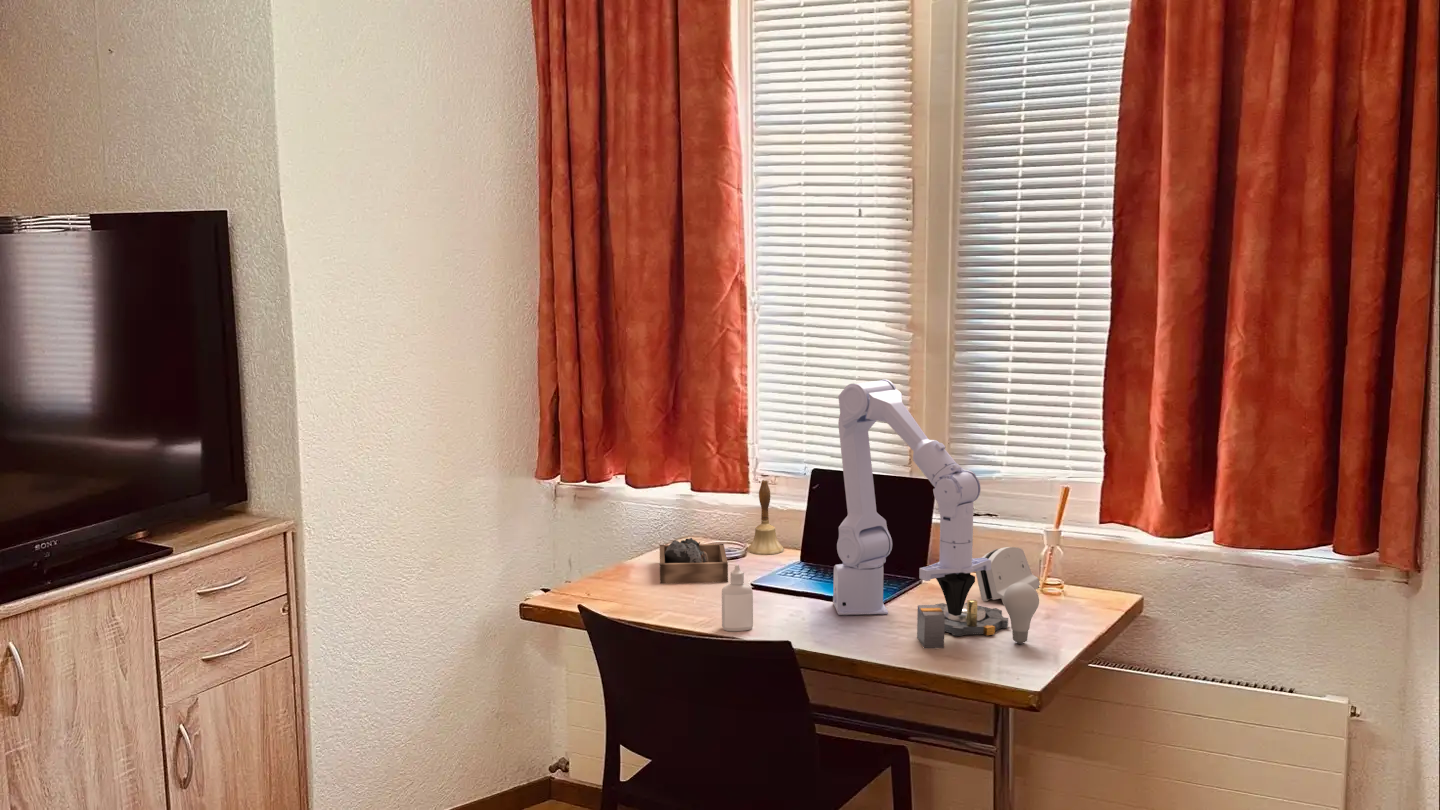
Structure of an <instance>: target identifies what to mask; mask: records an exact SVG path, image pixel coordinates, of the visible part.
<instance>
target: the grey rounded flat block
mask: <svg viewBox="0 0 1440 810" xmlns="http://www.w3.org/2000/svg"><path fill="white" fill-rule="evenodd" d="M981 558H987V559H990V560H991V570H989V571H985V570H981V571H975V577H976V580H977V584H978V588H979V594H980V598H981V602H988V601H990V600H993V601H995V600H999V599H1001V601H1002V604H1003V606H1004V602H1003V597H1004V593H1005V591H1006V590H1007V588H1008V587H1009V586H1011V585H1012V584H1015V583H1027V584H1029V585H1031V586H1032V587H1033V588H1034V589H1035V590H1037V589H1039V588H1040V587H1039V585H1041V582H1040V580H1039V578H1038V576H1035V575H1034V574H1033V572H1032V570H1031V567H1030V565H1029V562H1028V559H1027V557H1026V554H1025V552H1024V550H1023V549H1022V548H1021V547H1017V546H1016V547H1015V546H1007V547H1006V546H1005V547H1001V548H995V549H993V550H991V551H989V552H987V553H985V554H984V555H983V556H981ZM1038 587H1039V588H1038Z"/></svg>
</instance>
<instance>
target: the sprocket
mask: <svg viewBox="0 0 1440 810" xmlns="http://www.w3.org/2000/svg"><path fill="white" fill-rule="evenodd" d="M966 600H967V599H966ZM978 602H979V601H978V600H976V599H968V600H967V601H966V602H965V603H964V604H967V623H960V622H956V621H951V620H947V619H945V628H944V633H945V632H946V633H949V634H952V635H951V636H957V637H959V636H960V637H963V636H964V635H985V636H991V635H992V636H993V635H995V634H996V631H998V630H1000V629H1008V627H1009V617H1004V616H1003V611H1002V609H999V608H997V607H993V608H990V607H986V606H982V605H978ZM934 605H938V607H939V608H941V610H942V612H943V611H944V607H945V606H947V604H946V603H944V602H941V603H940V602H939V603H935V604H934ZM977 606H980V607H982V608H984V609H985V620H984V621H981V622H977Z"/></svg>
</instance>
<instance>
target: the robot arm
mask: <svg viewBox="0 0 1440 810" xmlns="http://www.w3.org/2000/svg"><path fill="white" fill-rule="evenodd" d="M838 406H839V417H838V435H839V445H840V453H841V461H842V463H841V464H842V470H843V471H842V472H843V482H844V491H845V501H846V509H847V516H846V517H845V518H844V519H843V520H842V522H841V523H840V525H839V526H838V539H837V543H836V550H837V554H838V557H839V559H840V560H841V562H842V563H839V564H835V565H834V566H833V586H832V587H833V595H832V604H833V606H834V608H835V611H836V613H837V615H839V616H851V615H887V614H888V613H889V611H888V608H887V607H886V606H885V604H884V564H885V563H886V561H887V557H888V556H889V555H890V554H891V552H892V549H893V539H892V537H891V534H890V531H889V530H888V526H887V525H888V524H887V520H886V519H885V518H884V517H883V516H881V515H880V514H879V513H878V512H877V504H876V502H877V501H876V494H875V484H874V483H875V482H874V476H873V475H874V474H873V464H872V455H871V447H870V445H871V444H870V435H869V430H870V429H871V428H872V427H873V426H874V424H875V423H876V422H877V421H879V422H884V423H887V425H888V426H889V427H891V429H892V430H893V431H894V432H895V433H896V435H898V436H899V437H900V438H901V440H902V441H904V443H906V446H908V447H909V448H910V449H911V450H912V451H913V454H912V461H913V462H914V464H915V465H916V466H917V468H918V469H919V471H921V473H923V475H924V476H925V477H926V479H927V480H928V482H930V484H931V485H932V486H933V487H934V488H933V489H932V491H933V497H934V499H935V501H936V502H937V504H938V505H937V506H938V509H937V512H938V513H939V516H940V517H939V522H940V523H939V530H940V531H939V561H938V562H935V563H932V564H929V565H927V566H923V567H919V571H918V572H919V573H918V574H919V580H922V581H925V582H929V581H931V580H933V579H935V580H936V581H937V583H938V585H939V586H940V588H941V589H940V590H941V591H942V594H943V596H944V599H945V604H947V608H948V613H949V614H952V615H954V616H958V615H961V613H962V610H963V606H964V604H965V603H966V600H967V596H968V594H969V592H970V590H971V588H972V587H973V586H974V584H975V582H976V575H972V574H971V573H974V572H975V571H981V570H985V571H989V570H991V560H990V559H987V558H982V557H977V558H975V557H973V542H974V541H973V540H974V539H973V538H974V537H973V536H974V535H973V534H974V502H976V501H977V500H978V498H979V496H981V483H980V480H979V479H978V477H977V476H976V473H974V472H973V471H972V470H968V469H965V468H964V467H963V466H961V465H960V464H959V463H957V462H956V461H955V459H954V458H953V457H952V455H950V453H949V452H948V451H947V449H946V448H947V447H946V446H945V444H944V443H943V442H939V441H938V440H936V439H929V438H928V436H927V435H926V434H925V433H924V431H923V430H922V428H921V426H920V425H919V424H918V422H917V421H916V419H915V418H914V417H913V415H912V414H911V412H910V411H909V410H908V408H907V407H906V406H905V404H904V402H903V394H902V392H901V391H900V390H899V389H897V387H896V385H895V384H894V382H892V381H891V380H889V379H879V380H873V381H868V382H865V381H864V382H859V383H857V382H856V383H855V382H852V383H849V384H847V385H846V386H845V387H844V388H843V390H842V391H841V392H840V393H839V395H838ZM975 573H976V572H975Z"/></svg>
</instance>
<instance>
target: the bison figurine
mask: <svg viewBox="0 0 1440 810" xmlns="http://www.w3.org/2000/svg"><path fill="white" fill-rule="evenodd" d="M699 544H701V541H699V542H698V541H697V540H696V539H693V538H692V537H690V538H686V539H682V540H680V541H678V540H676V539H674V540H672V542H671V543H669V544H668V545H669V546H668V548H667V550H666V552H665V553H664V555H665V563H704V562H709V561H708V557H707V553H706V552H705V551H702V552H701V551H700V548H699Z"/></svg>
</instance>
